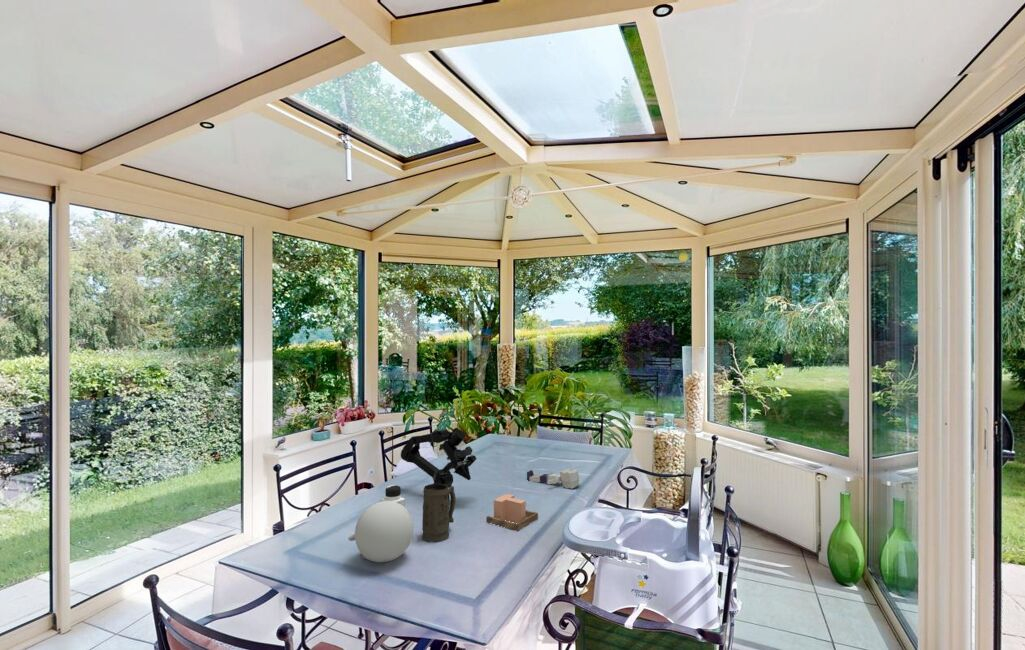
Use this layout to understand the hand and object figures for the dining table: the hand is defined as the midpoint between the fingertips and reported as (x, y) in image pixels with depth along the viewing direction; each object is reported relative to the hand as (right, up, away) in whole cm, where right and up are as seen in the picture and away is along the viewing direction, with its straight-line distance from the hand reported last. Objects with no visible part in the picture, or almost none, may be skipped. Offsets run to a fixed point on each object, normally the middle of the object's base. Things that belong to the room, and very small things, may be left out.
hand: (469, 479), depth 213 cm
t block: (+19, -13, -14) cm, 27 cm away
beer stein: (-9, -13, -28) cm, 32 cm away
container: (-33, -13, -9) cm, 37 cm away
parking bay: (+20, -13, -14) cm, 28 cm away
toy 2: (-26, -12, -50) cm, 57 cm away
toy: (+41, -15, +37) cm, 58 cm away
